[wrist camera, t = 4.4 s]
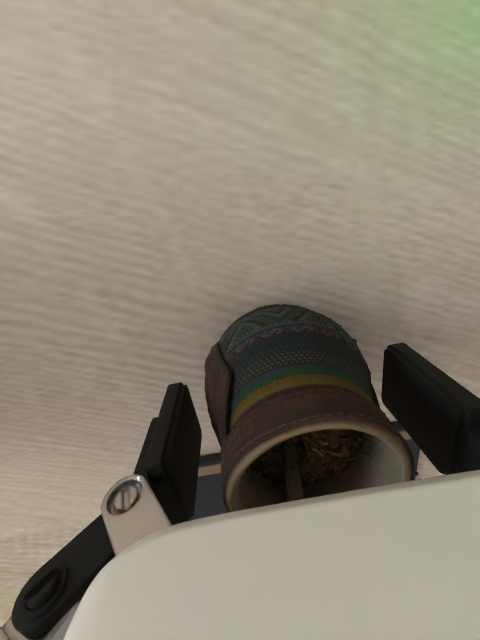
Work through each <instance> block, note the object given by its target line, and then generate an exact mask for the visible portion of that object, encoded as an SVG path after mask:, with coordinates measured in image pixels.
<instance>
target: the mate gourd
mask: <svg viewBox="0 0 480 640" xmlns="http://www.w3.org/2000/svg"><path fill="white" fill-rule="evenodd" d="M370 375H371V373H370V370H369V368H368V365H367V363H366V361H365V359H364V358H363V355H362V353H361V351H360V349H359V347H358V345H357V343H356V340H355V339H352V337H351V336H350V335H349V334H348V333H347V332H346V331H345V330H344V329H343V328H342V327H341V326H340V325H339V324H338V323H336V322H334V321H333V320H332V319H330V318H328V317H326V316H325V315H322V314H319V313H317V312H314V311H313V310H312V311H311V310H309V309H308V308H307V309H306V308H304V307H299V306H293V305H286V304H282V305H280V304H275V305H269V306H264V307H259V308H257V309H255V310H253V311H251V312H249V313H247V314H245V315H244V316H242V317H240V318H238V319H237V320H236V321H235V322H234V323H233V324H232V325H231V326H229V328H228V329H227V330H226V331H225V332H224V334H223V335H222V336H221V338H220V340H219V341H218V342H217V343H216V344H215V345H214V346H213V347H212V349H211V351H210V353H209V355H208V356H207V359H206V361H205V393H206V400H207V406H208V413H209V416H210V419H211V424H212V427H213V429H214V431H215V434H216V436H217V438H218V441H219V444H220V447H221V453H220V463H221V479H222V484H221V486H222V495H223V501H224V504H225V507H226V509H227V511H228V513H230V512H235V511H240V510H245V509H251V508H256V507H262V506H268V505H273V504H279V503H285V502H290V501H296V500H301V499H307V498H313V497H319V496H324V495H330V494H336V493H342V492H348V491H353V490H359V489H365V488H371V487H377V486H383V485H389V484H395V483H401V482H407V481H412V480H413V478H414V473H415V474H416V475H418V472H417V471H414V469H415V463H414V458H413V455H412V451H411V450H410V448H409V445H408V443H407V442H406V440H405V439H404V438H403V437H402V434H400V433H398V432H397V431H396V429H395V428H394V426H393V424H392V423H391V422H390V420H389V419H388V418H387V417H386V414H385V413H384V412H382V410H381V409H380V406H379V403H378V400H377V396H376V393H375V391H374V388H373V385H372V383H371V376H370Z"/></svg>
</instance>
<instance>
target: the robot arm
mask: <svg viewBox="0 0 480 640" xmlns="http://www.w3.org/2000/svg"><path fill="white" fill-rule="evenodd" d="M381 398H382V402H383V404H384V405H385V406H386V408H387V409H388V410H389V411H390V412H391V414H392V415H393V416H394V417H395V419H396V420H397V421H398V422H399V423H400V425H401V426H402V427H403V428H404V430H405V431H406V432H407V433H408V434H409V436H410V437H411V438H412V439H413V441H414V442H415V443H416V444H417V445H418V447H419V448H420V449H421V450H422V452H423V453H424V454H425V455H426V456H427V458H428V459H429V460H430V461H431V463H432V464H433V465H434V466H435V467H436V469H437V470H438V471H439V472H440V473H442V474H445V475H443V476H437V477H431V478H425V479H419V480H413V481H407V482H401V483H395V484H389V485H383V486H377V487H371V488H365V489H359V490H353V491H348V492H342V493H336V494H330V495H324V496H319V497H313V498H307V499H301V500H296V501H290V502H285V503H279V504H273V505H268V506H262V507H256V508H251V509H245V510H240V511H235V512H230V513H224V514H219V515H214V516H209V517H204V518H199V519H195V520H191V521H189V518H191V517H193V516H194V512H195V501H196V491H197V480H198V470H199V459H200V449H201V438H202V433H201V428H200V424H199V421H198V418H197V415H196V412H195V409H194V405H193V402H192V399H191V396H190V393H189V389H188V387H187V385H183V384H182V383H181V382H180V383H175V384H169V385H168V388H167V391H166V394H165V397H164V400H163V404H162V407H161V410H160V413H159V416H158V417H156V418H153V419H152V421H151V424H150V426H149V429H148V432H147V435H146V438H145V441H144V444H143V447H142V450H141V453H140V456H139V459H138V462H137V465H136V468H135V471H134V474H133V475H129V476H126V477H124V478H122V479H121V480H119V481H118V482H116V483H115V484H114V485H113V486H112V487H111V488H110V489H109V491H108V492H107V493H106V495H105V497H104V499H103V501H102V505H101V515H100V516H98V517H97V518H96V519H95V520H94V521H93V522H92V523H91V524H89V525H88V526H87V527H86V528H85V529H84V530H83V531H82V532H80V533H79V534H78V535H77V536H76V537H75V538H74V539H73V540H71V541H70V542H69V543H68V544H67V545H66V546H65V547H64V548H62V549H61V550H60V551H59V552H58V553H57V554H56V555H55V556H53V557H52V558H51V559H50V560H49V561H48V562H47V563H46V564H44V565H43V566H42V567H41V568H40V569H39V570H38V571H37V572H36V573H35V574H34V575H33V576H32V577H31V578H30V579H29V580H28V582H27V583H26V584H25V586H24V587H23V588H22V590H21V592H20V594H19V596H18V597H17V599H16V601H15V604H14V607H13V611H12V616H11V617H10V618H9V619H8V621H7V622H6V623H5V624H4V625H3V626H2V627H0V640H480V399H479V398H478V397H476V396H475V395H474V394H472V393H471V392H470V391H468V390H467V389H466V388H464V387H463V386H461V385H460V384H459V383H457V382H456V381H455V380H453V379H452V378H451V377H449V376H448V375H447V374H445V373H444V372H443V371H441V370H440V369H439V368H437V367H436V366H435V365H433V364H432V363H431V362H429V361H428V360H426V359H425V358H424V357H422V356H421V355H420V354H418V353H417V352H416V351H414V350H413V349H412V348H410V347H409V346H408V345H406V344H405V343H398V344H392V345H389V346H388V347H387V349H385V350H384V361H383V377H382V393H381Z"/></svg>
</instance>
